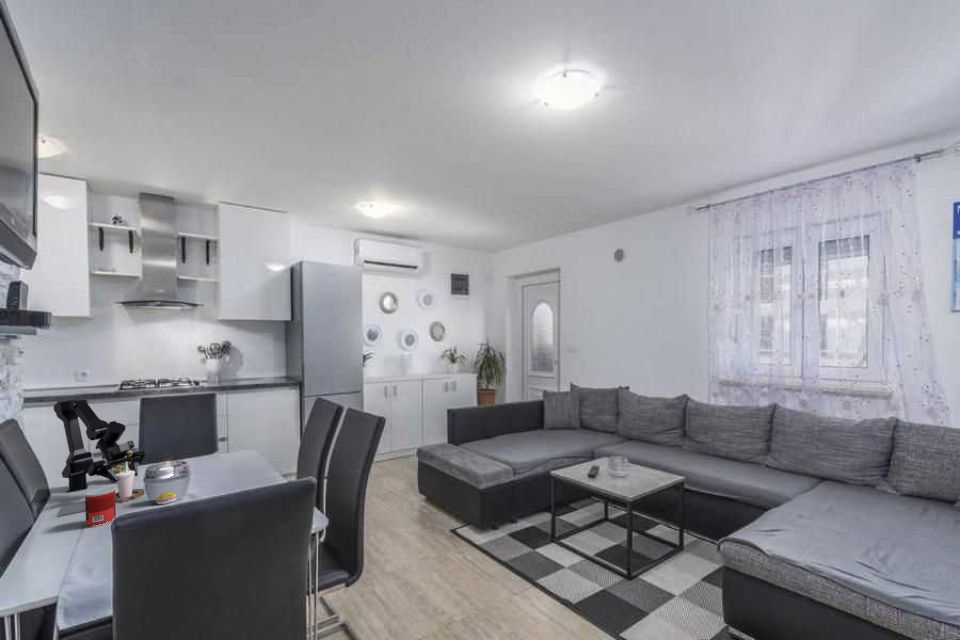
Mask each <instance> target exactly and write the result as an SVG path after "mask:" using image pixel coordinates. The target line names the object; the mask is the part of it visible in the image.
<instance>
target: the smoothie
mask: <svg viewBox="0 0 960 640" xmlns="http://www.w3.org/2000/svg"><path fill="white" fill-rule="evenodd" d="M134 474H135V471H128V468H127V462H126V471H125V472H120V473H118V474H116V477H117V479H118V481H117V483H116V484H117V489H118V492H119V495H120V496H119V498H124V497H129V496H132V495H133V493H132V489H134V488H133V487H134V480H135V476H134Z"/></svg>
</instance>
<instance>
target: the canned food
mask: <svg viewBox="0 0 960 640" xmlns="http://www.w3.org/2000/svg"><path fill="white" fill-rule="evenodd" d="M115 493H116V488H115V486H105V487H99V488H96V489H92V490H89V491H87V492H86V493H85V494H84V495H85V496H84V501H85V511H84V512H85V525H86V526H87V527H88V526H93V525H99V524H103V523H106V522H107V521H108V522H109V521H110V520H111V521H112V519H113V518H114V517H115V518H116V516H117V510H116V509H117V508H116V505H117V504H116V500H115ZM111 521H110V523H112V522H113V521H112V522H111Z"/></svg>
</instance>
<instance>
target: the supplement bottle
mask: <svg viewBox="0 0 960 640" xmlns="http://www.w3.org/2000/svg"><path fill="white" fill-rule="evenodd" d="M174 470H175V469H174V466H165V467H161V468H159V469H158V474H159V475H158V476H159V478H161V479H165V478H166V479H167V478H170V477H171V476H173V475H174V474H173V473H174ZM177 499H178V497H177V498H176V494H174V493H165V494H164V493H163V494H161V495H160V496H159V497H158V498H157V500H156V499H155V500H156V502H157V503H156V502H155V503H156V504H157V505H166V504H171V503H173V502H175V501H176V500H177ZM170 502H171V503H170Z"/></svg>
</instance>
